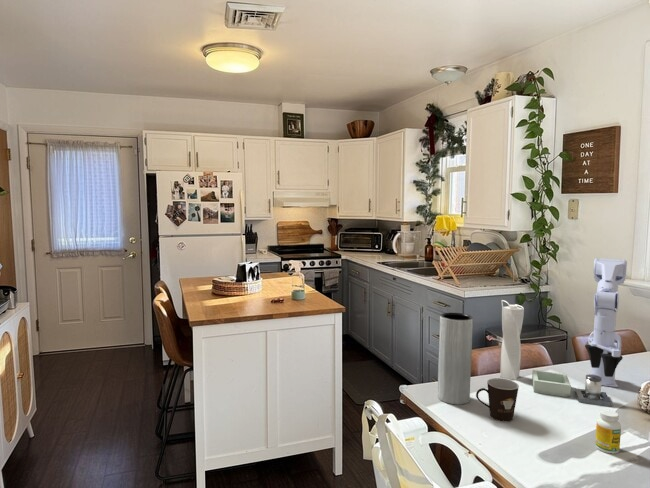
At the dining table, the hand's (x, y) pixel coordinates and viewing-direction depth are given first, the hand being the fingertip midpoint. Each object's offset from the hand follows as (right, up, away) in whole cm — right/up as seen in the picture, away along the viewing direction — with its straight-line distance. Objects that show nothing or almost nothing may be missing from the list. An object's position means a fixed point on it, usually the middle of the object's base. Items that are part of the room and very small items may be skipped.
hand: (601, 371), depth 146 cm
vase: (-46, -10, +3) cm, 47 cm away
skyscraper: (-20, -8, +23) cm, 32 cm away
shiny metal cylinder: (-1, -10, +4) cm, 11 cm away
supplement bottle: (-15, -13, -27) cm, 33 cm away
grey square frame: (-1, -10, +4) cm, 11 cm away
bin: (-10, -9, +12) cm, 18 cm away
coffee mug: (-37, -11, -9) cm, 39 cm away
